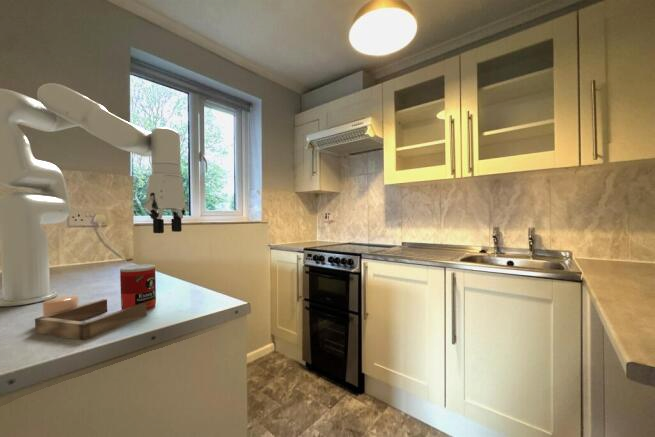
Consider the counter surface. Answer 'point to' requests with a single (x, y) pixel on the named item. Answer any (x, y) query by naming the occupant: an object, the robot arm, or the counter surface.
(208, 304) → the counter surface
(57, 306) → the peach egg shape
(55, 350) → the counter surface
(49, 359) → the counter surface
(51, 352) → the counter surface
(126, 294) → the canned food
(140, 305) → the wooden u-shaped frame
